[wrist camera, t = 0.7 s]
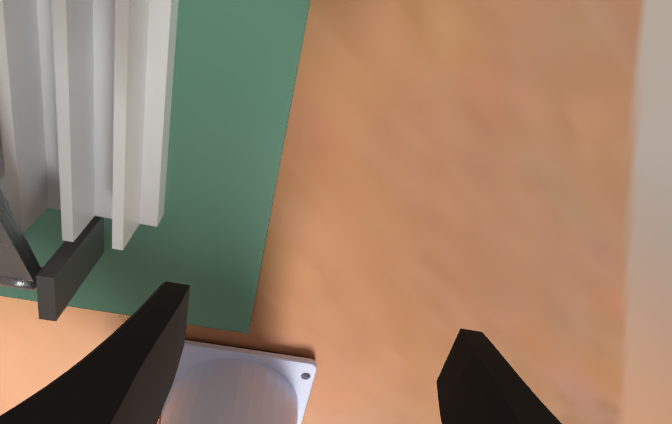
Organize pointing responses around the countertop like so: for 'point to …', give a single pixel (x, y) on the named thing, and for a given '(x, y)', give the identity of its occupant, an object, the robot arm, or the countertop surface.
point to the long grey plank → (15, 252)
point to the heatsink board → (145, 147)
